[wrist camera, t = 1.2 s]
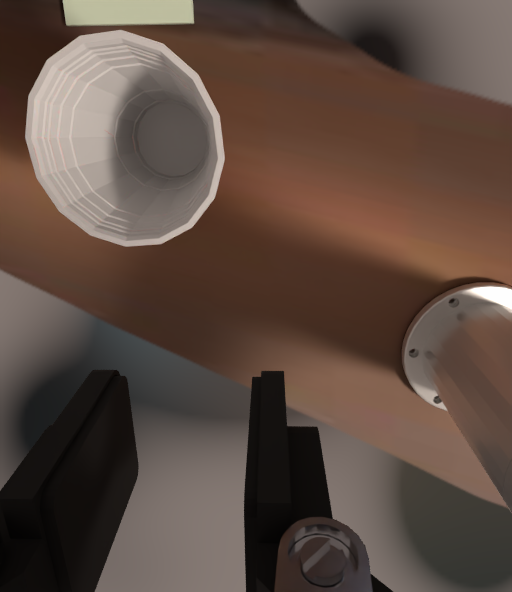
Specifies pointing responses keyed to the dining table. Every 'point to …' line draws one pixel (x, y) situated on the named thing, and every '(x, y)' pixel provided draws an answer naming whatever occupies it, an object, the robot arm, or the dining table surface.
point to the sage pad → (128, 12)
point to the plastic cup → (124, 138)
